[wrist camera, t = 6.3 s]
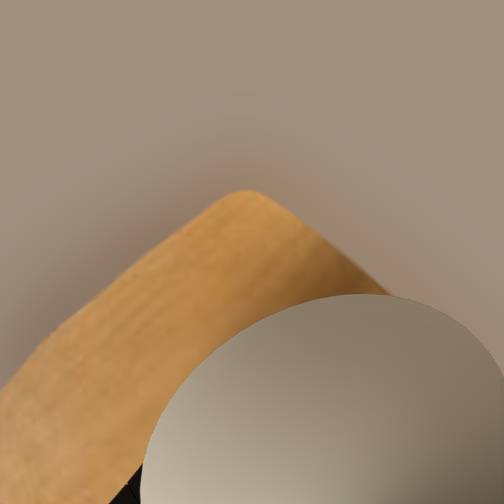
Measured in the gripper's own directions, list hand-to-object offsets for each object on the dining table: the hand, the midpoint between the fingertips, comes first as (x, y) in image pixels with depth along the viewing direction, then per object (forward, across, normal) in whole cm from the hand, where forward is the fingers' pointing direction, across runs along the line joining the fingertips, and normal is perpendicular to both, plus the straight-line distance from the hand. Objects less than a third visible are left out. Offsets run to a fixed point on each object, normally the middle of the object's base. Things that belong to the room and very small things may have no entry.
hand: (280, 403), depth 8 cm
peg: (+5, 0, +7) cm, 8 cm away
